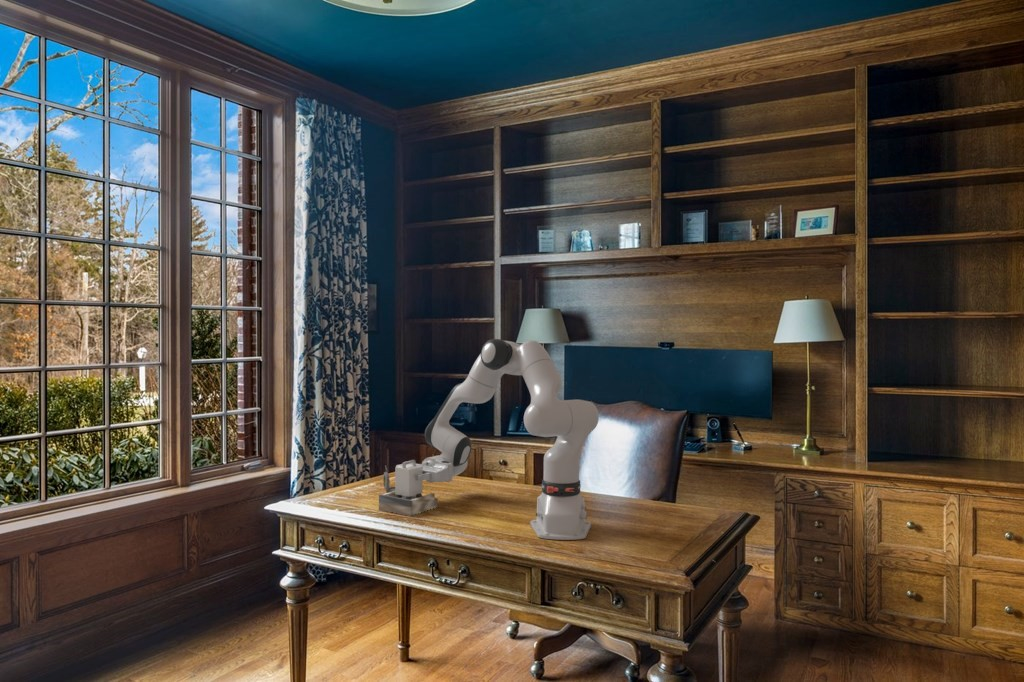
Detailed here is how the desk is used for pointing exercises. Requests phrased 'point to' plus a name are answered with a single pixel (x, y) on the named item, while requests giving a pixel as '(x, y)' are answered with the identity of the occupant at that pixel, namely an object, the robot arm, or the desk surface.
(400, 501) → the dock
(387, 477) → the pocket watch
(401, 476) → the trolley
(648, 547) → the desk surface
